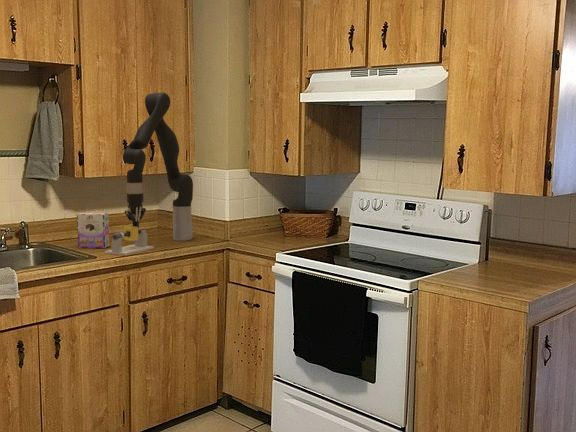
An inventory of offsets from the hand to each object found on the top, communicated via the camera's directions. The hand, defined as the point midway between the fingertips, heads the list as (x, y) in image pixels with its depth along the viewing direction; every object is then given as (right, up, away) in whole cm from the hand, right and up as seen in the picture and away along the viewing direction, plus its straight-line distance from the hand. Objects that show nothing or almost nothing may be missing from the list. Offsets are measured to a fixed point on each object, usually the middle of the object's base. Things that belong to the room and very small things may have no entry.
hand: (135, 229), depth 323 cm
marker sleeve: (-2, -5, -3) cm, 6 cm away
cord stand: (-2, -10, -3) cm, 11 cm away
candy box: (-21, -9, +6) cm, 24 cm away
